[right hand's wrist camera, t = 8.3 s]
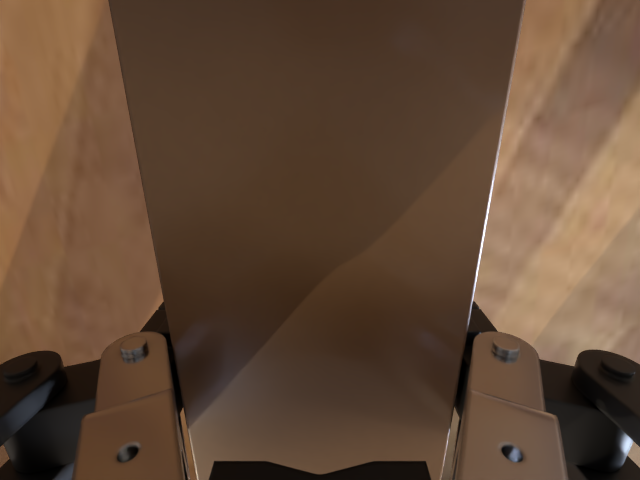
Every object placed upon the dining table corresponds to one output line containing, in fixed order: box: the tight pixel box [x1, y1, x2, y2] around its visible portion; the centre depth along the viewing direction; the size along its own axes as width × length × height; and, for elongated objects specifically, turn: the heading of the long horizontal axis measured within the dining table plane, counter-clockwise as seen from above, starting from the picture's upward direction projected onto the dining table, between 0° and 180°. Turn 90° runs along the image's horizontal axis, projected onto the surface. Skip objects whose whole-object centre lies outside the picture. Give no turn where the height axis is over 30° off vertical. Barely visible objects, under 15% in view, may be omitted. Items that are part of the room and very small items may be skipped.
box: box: [109, 0, 526, 480], centre depth 9 cm, size 23×6×9 cm, turn 0°
